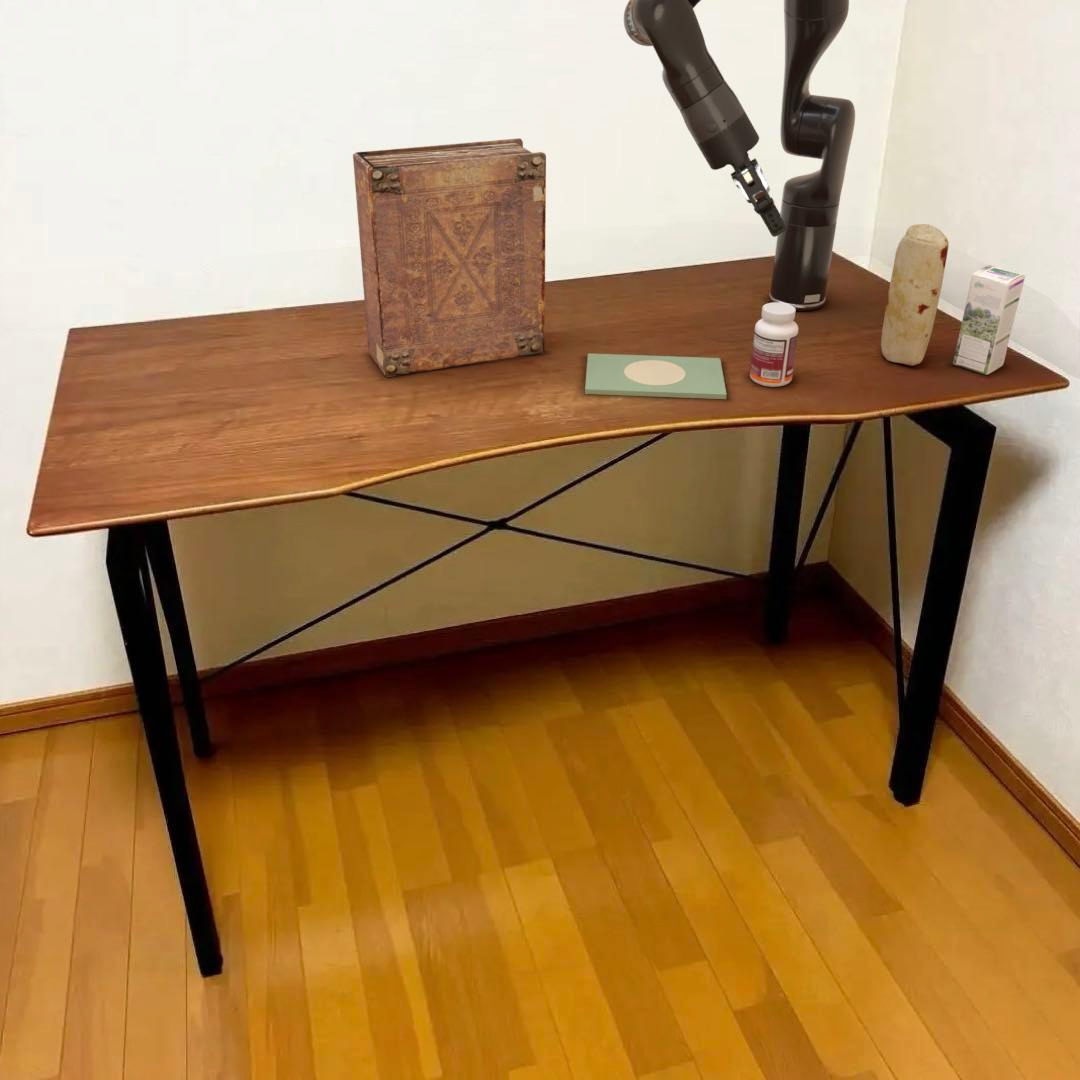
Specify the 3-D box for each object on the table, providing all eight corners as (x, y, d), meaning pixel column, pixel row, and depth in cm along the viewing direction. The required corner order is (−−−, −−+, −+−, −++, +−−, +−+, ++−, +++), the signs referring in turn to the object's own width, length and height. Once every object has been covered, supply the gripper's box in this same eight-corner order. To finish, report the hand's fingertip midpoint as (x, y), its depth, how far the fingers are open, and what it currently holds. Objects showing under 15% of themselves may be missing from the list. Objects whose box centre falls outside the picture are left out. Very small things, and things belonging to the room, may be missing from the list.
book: (522, 332, 178) (523, 137, 162) (544, 354, 171) (547, 152, 155) (367, 355, 170) (352, 152, 154) (384, 378, 163) (370, 167, 147)
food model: (936, 369, 168) (964, 237, 157) (894, 371, 167) (920, 239, 156) (907, 344, 176) (933, 217, 165) (867, 346, 175) (890, 219, 164)
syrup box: (1004, 365, 169) (1027, 272, 161) (986, 376, 166) (1009, 282, 158) (968, 354, 173) (990, 263, 165) (950, 365, 169) (971, 272, 161)
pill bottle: (775, 368, 167) (784, 297, 162) (800, 383, 163) (811, 311, 157) (740, 375, 165) (748, 303, 159) (765, 391, 160) (774, 318, 155)
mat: (587, 358, 170) (587, 352, 169) (719, 362, 169) (720, 357, 168) (584, 394, 159) (585, 388, 158) (726, 399, 158) (726, 393, 157)
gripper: (747, 115, 144) (807, 222, 150) (739, 102, 157) (795, 202, 162) (696, 148, 147) (757, 253, 152) (693, 134, 159) (750, 230, 165)
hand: (777, 226), depth 157 cm, fingers open, 8 cm apart
